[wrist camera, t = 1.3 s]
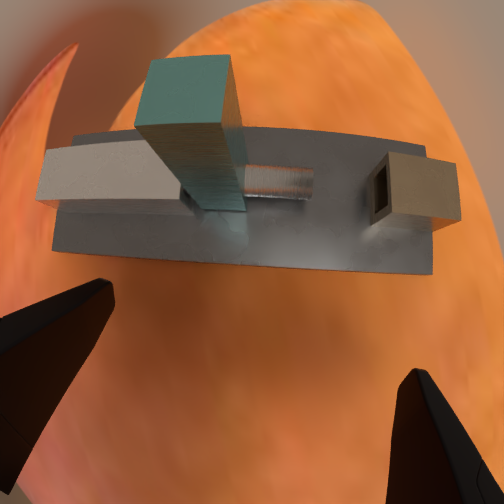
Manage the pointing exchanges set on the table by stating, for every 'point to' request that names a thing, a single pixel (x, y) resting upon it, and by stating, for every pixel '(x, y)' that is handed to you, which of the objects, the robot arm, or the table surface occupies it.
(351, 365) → the table surface
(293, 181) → the sliding bolt with handle
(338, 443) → the table surface
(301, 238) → the sleeve and socket
